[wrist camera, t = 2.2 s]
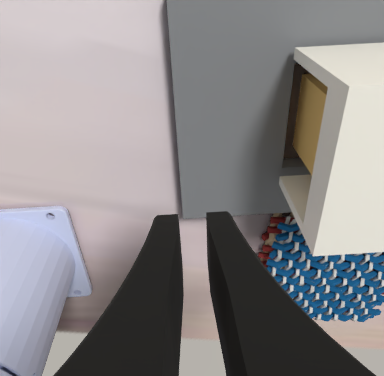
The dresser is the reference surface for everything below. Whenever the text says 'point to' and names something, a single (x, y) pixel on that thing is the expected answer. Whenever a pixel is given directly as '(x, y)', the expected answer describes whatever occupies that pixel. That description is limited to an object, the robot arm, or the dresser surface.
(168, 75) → the dresser surface
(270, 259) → the woven mat
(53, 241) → the robot arm
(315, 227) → the cover
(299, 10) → the puzzle board
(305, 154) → the ochre block
